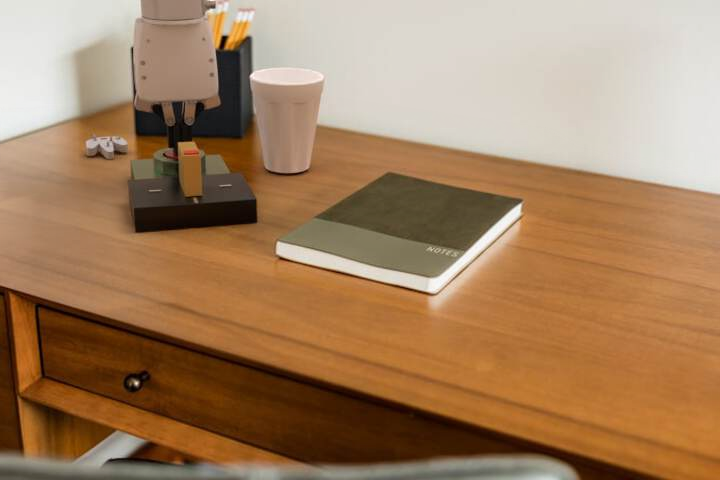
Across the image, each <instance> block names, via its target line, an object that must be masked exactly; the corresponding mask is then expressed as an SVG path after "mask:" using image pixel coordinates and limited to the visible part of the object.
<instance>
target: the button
mask: <svg viewBox="0 0 720 480" xmlns="http://www.w3.org/2000/svg"><path fill="white" fill-rule="evenodd" d="M165 157H166V158H169V159H178V156H175V153H174V151H173V150H169V151H167V152H165Z"/></svg>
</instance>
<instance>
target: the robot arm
mask: <svg viewBox="0 0 720 480" xmlns="http://www.w3.org/2000/svg"><path fill="white" fill-rule="evenodd" d="M216 8H217V1H216V0H140V11H141V12H140V14H141V17H137V18H135V22H134V29H133V39H132V40H133V43H132V44H133V45H132V49H133V50H132V52H133V53H132V54H133V55H132V56H133V57H132V59H133V62H132V63H133V83H134V89H135V97H134V101H133V102H134V104H133V105H134V108H135V109H136V111H139V112H146V113H151V114H152V113H153V114H155V115H156V116H157V117H158V118H159V119H160V120H161V121H163V122H164V123H165V124H166V138H167V148H173V151H174V153H175V156H178V142H193V128H192V126H193V124H194V122H195V120H196V119H197V118H198V117H199V116H200V115H201V114H202V113H203V112H204V111H206V110H210V109H214V108H216V107H219V106H221V104H222V103H221V98H220V95H219V73H218V61H217V53H216V52H217V51H216V44H215V38H214V33H213V29H212V24H211V21H210V17H208V16H206V13H207V12H208V11H210V10H212V9H213V10H214V9H215V10H216ZM181 102H182V109H181V110H182V111H181V115H180V118H179V120H178V119H177V116H175V114H174V109H173V105H172V104H173V103H181Z"/></svg>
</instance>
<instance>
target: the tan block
mask: <svg viewBox="0 0 720 480" xmlns="http://www.w3.org/2000/svg"><path fill="white" fill-rule="evenodd" d="M198 149H199V148H198V146H197V144H196V142H195V141H192V142H178V160H179V180H180V184H181V187H182V189H183V192H184V195H185V197H190V196H202V175H201V155H200V153H199V151H198Z"/></svg>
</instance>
